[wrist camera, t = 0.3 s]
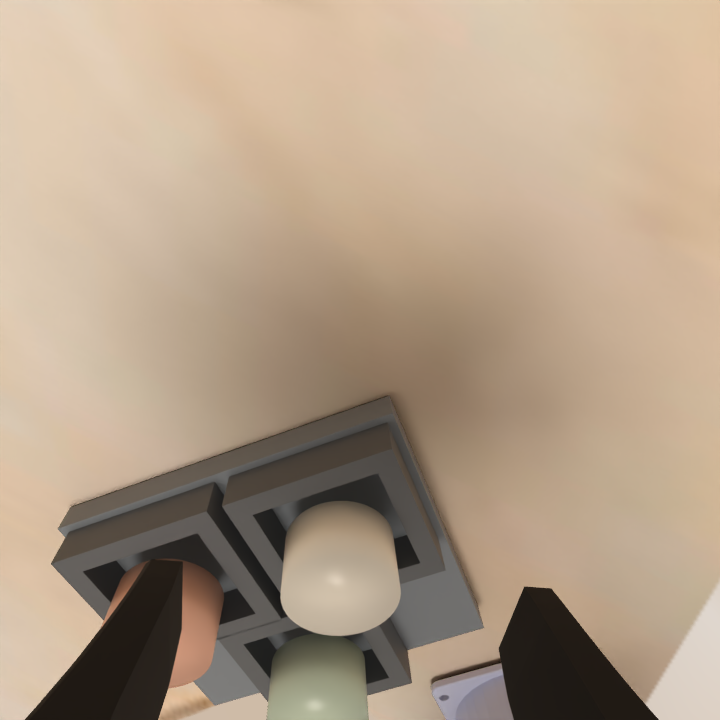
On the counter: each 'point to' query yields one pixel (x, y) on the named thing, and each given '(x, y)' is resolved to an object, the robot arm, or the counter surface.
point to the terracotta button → (188, 619)
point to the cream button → (340, 569)
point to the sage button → (318, 680)
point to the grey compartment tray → (279, 542)
